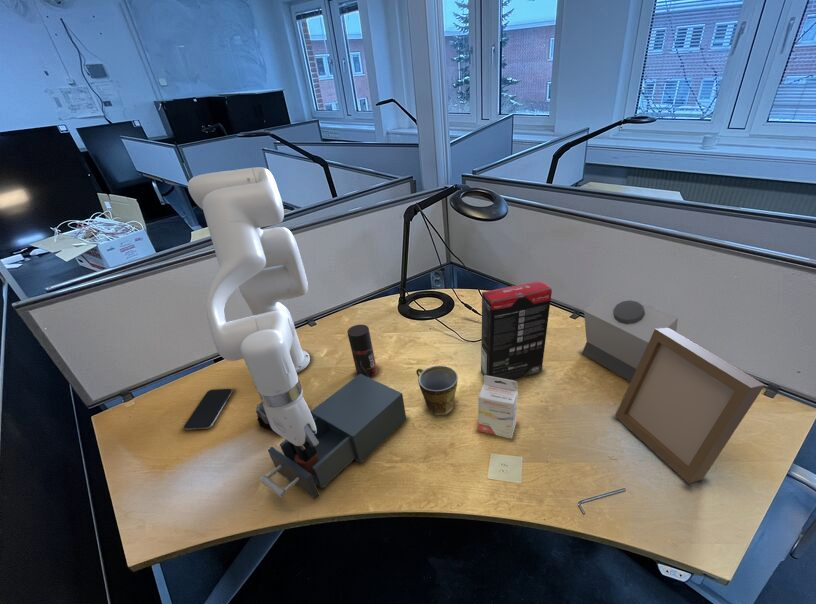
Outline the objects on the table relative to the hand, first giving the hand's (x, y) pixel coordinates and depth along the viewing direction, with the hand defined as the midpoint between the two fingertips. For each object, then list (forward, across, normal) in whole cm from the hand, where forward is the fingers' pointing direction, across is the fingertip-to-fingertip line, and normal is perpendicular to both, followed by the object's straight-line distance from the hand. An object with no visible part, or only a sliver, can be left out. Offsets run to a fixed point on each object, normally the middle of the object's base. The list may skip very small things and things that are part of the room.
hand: (304, 453), depth 90 cm
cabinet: (+7, 0, +16) cm, 18 cm away
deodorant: (+7, -16, +33) cm, 37 cm away
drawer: (+6, 0, +1) cm, 6 cm away
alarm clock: (+7, +46, +76) cm, 90 cm away
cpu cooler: (+7, -20, +7) cm, 23 cm away
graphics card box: (+7, +22, +55) cm, 60 cm away
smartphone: (+7, -42, -2) cm, 42 cm away
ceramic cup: (+7, +10, +33) cm, 36 cm away
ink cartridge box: (+7, +28, +34) cm, 45 cm away
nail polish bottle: (+5, 0, 0) cm, 5 cm away
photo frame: (+7, +64, +53) cm, 84 cm away
